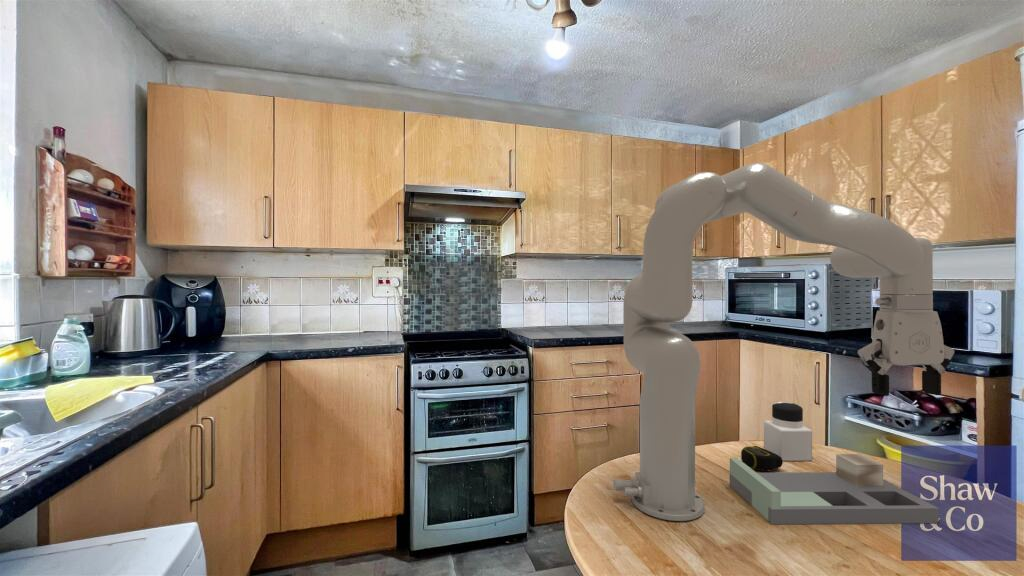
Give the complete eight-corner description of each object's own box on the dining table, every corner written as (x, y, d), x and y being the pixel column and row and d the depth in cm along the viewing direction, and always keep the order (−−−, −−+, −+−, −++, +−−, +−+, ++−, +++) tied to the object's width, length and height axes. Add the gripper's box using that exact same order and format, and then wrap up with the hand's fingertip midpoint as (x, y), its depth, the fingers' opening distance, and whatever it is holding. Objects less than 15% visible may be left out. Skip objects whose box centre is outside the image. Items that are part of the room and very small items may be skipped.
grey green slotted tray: (771, 524, 73) (771, 491, 73) (729, 485, 87) (729, 457, 87) (938, 523, 73) (939, 490, 73) (869, 484, 87) (869, 457, 87)
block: (856, 486, 81) (856, 464, 81) (836, 474, 86) (836, 454, 86) (883, 486, 81) (883, 464, 81) (861, 474, 86) (861, 454, 86)
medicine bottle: (812, 461, 99) (813, 408, 98) (780, 461, 99) (781, 408, 98) (792, 449, 106) (793, 399, 106) (763, 449, 106) (763, 399, 106)
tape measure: (784, 472, 94) (784, 454, 93) (759, 476, 91) (759, 458, 91) (757, 459, 100) (757, 443, 100) (733, 463, 98) (733, 446, 98)
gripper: (876, 305, 79) (876, 399, 80) (971, 304, 79) (972, 398, 80) (844, 303, 87) (845, 389, 87) (932, 302, 87) (932, 388, 87)
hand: (905, 393), depth 83 cm, fingers open, 9 cm apart
